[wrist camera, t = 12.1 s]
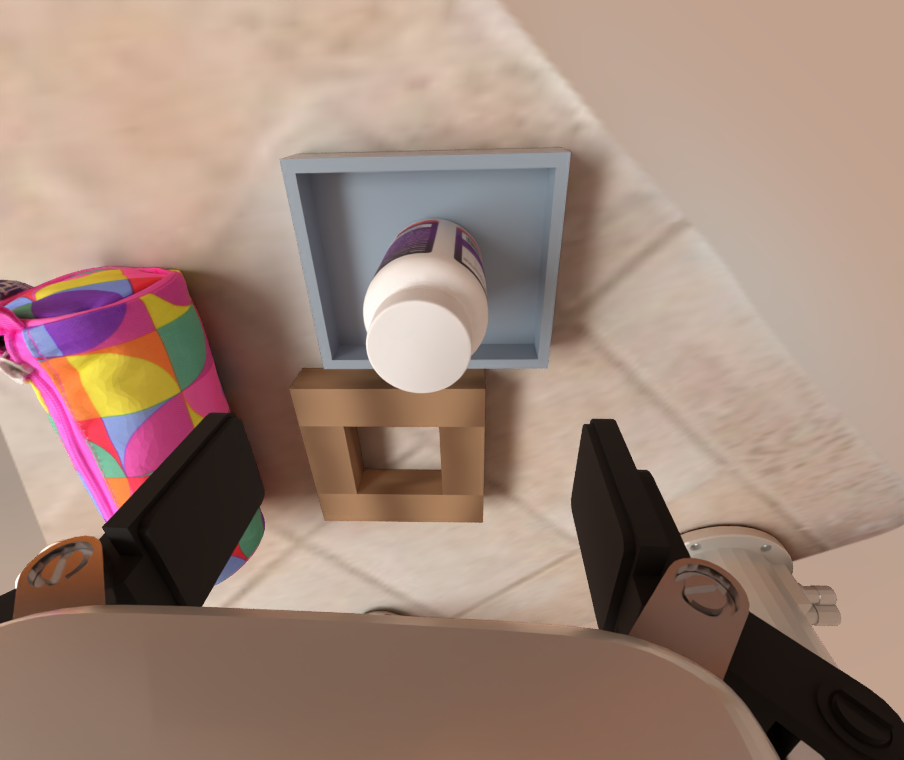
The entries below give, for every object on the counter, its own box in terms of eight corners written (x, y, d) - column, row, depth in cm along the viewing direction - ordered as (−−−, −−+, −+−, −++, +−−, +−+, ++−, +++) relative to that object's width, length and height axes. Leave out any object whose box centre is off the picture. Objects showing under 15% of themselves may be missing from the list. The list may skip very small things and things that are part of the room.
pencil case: (41, 245, 25) (-144, 306, 18) (198, 238, 25) (77, 299, 17) (183, 505, 37) (108, 609, 29) (291, 504, 36) (244, 610, 29)
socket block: (484, 367, 28) (485, 388, 26) (482, 497, 35) (482, 522, 33) (302, 368, 29) (289, 389, 27) (333, 495, 35) (324, 520, 33)
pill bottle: (380, 299, 26) (338, 392, 17) (396, 204, 23) (354, 263, 15) (470, 320, 26) (470, 420, 18) (496, 231, 23) (510, 301, 15)
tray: (561, 147, 22) (570, 152, 19) (542, 348, 28) (547, 368, 25) (297, 153, 22) (279, 159, 20) (334, 349, 28) (323, 369, 26)
